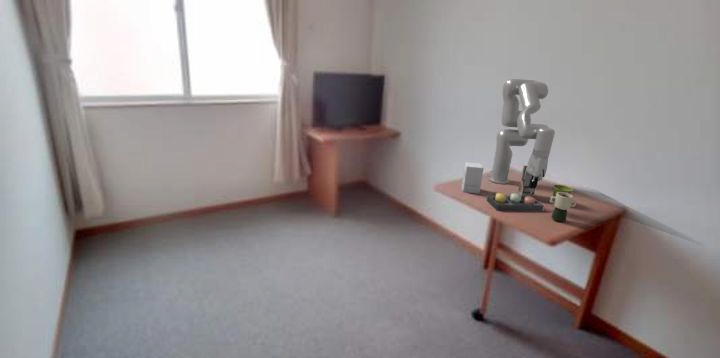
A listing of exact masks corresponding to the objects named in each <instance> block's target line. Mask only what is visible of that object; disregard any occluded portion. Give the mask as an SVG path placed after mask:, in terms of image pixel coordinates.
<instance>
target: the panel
mask: <svg viewBox="0 0 720 358" xmlns="http://www.w3.org/2000/svg"><path fill="white" fill-rule="evenodd" d="M495 197H496V195H487V197H486V202H488V204H490V205H491V206H492V207H493V209H495V210H496V211H497V212H498V211H501V212H503V211H506V212H507V211H511V212H512V211H513V212H528V211H529V212H543V211H544V204H542V203H541V202H539V201H538V200H537V199H536V200H535V203H527V202H525V201H524V200H525V197H526V196H522V197H521V201H520V203H512V202H511V201H510V197H511V195H507V196H506V201H505V203H497V202H496V201H495ZM530 197H531V196H530Z"/></svg>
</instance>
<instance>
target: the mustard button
mask: <svg viewBox="0 0 720 358" xmlns="http://www.w3.org/2000/svg"><path fill="white" fill-rule="evenodd" d="M495 196H496V197H495V201H496V202H497V203H505V201H506V196H508V195H507V194H505V193H502V192H496V193H495Z"/></svg>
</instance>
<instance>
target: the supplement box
mask: <svg viewBox="0 0 720 358" xmlns="http://www.w3.org/2000/svg"><path fill="white" fill-rule="evenodd" d="M483 173H484V166H483V165H482V163H477V162H470V161H469V162H467V161H466V162H465V163H464V169H463V176H462V182H461V190H462V192H463V193H471V194H478V195H480V191H481V185H482V179H483Z"/></svg>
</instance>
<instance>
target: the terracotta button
mask: <svg viewBox="0 0 720 358" xmlns="http://www.w3.org/2000/svg"><path fill="white" fill-rule="evenodd" d="M535 200H537V199H536V198H535V197H534V196H533V197H530V196H526V197H525V200H524V201H525V202H527V203H535Z"/></svg>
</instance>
